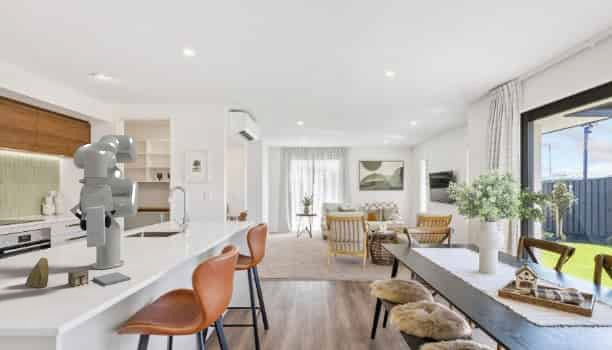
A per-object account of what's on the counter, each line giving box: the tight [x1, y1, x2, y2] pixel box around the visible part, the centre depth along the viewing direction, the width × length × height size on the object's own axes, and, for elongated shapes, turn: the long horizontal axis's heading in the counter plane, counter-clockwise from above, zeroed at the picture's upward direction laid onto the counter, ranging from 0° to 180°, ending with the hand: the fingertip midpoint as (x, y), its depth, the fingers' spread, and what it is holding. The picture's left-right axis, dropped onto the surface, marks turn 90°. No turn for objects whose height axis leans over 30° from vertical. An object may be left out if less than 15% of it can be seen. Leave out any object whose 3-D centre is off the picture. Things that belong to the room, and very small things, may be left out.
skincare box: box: [85, 207, 105, 248], centre depth 122 cm, size 8×6×15 cm
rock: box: [24, 257, 49, 288], centre depth 120 cm, size 11×9×10 cm
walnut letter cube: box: [67, 268, 89, 288], centre depth 121 cm, size 5×5×5 cm
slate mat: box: [92, 271, 131, 287], centre depth 127 cm, size 12×9×1 cm
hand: (96, 228), depth 122 cm, fingers closed on skincare box, 7 cm apart
